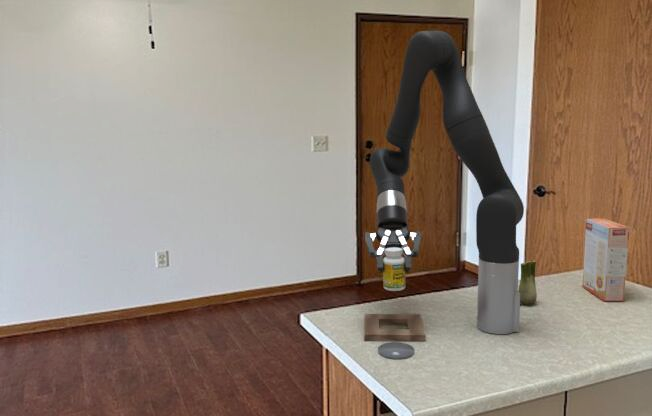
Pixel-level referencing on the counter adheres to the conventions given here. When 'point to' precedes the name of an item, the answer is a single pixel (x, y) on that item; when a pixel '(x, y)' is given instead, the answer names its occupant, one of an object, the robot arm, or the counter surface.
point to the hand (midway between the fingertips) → (394, 270)
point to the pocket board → (376, 334)
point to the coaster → (396, 350)
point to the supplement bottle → (393, 270)
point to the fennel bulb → (527, 283)
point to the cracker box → (605, 259)
